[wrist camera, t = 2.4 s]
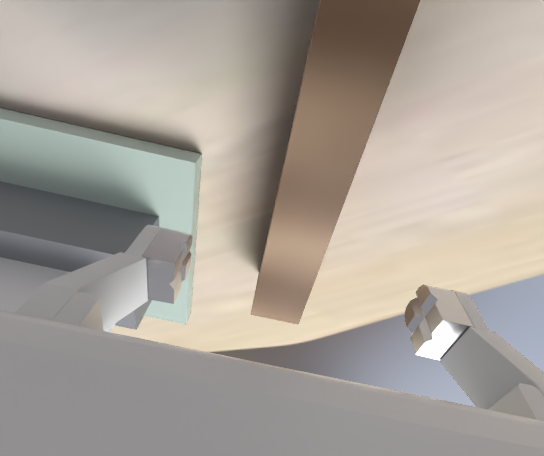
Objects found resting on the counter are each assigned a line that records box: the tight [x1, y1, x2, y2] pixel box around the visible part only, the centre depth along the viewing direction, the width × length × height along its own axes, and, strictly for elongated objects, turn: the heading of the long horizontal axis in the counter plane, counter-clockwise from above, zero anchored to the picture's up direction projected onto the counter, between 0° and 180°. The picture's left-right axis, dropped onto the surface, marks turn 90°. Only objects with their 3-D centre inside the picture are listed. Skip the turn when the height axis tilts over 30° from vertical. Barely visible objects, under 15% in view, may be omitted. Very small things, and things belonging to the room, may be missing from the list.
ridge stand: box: [0, 108, 202, 332], centre depth 18 cm, size 14×18×8 cm
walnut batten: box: [251, 0, 420, 324], centre depth 16 cm, size 18×3×4 cm, turn 170°
